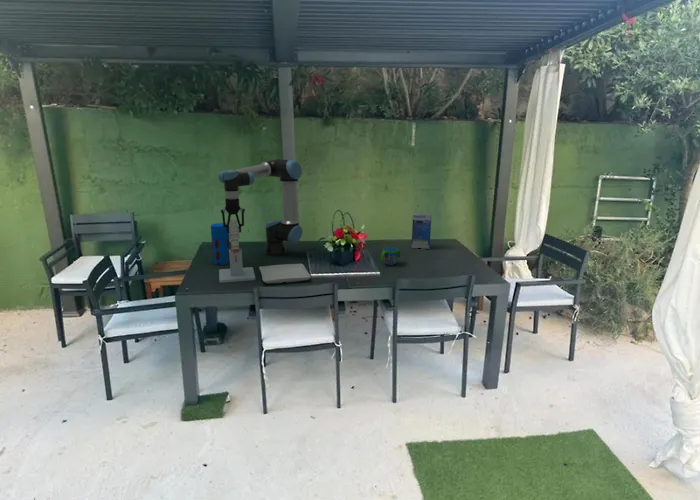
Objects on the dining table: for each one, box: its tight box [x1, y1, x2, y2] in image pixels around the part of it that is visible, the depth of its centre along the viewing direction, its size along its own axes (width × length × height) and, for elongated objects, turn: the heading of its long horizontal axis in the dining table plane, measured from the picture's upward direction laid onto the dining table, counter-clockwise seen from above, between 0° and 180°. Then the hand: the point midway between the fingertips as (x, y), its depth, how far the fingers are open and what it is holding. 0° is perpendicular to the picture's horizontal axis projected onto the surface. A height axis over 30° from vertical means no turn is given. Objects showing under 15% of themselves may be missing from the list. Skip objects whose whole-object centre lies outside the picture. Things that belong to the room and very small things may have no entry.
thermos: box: [210, 222, 231, 266], centre depth 282 cm, size 11×11×25 cm
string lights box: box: [411, 212, 432, 249], centre depth 322 cm, size 13×8×26 cm, turn 77°
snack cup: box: [380, 246, 401, 266], centre depth 286 cm, size 16×10×10 cm
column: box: [229, 219, 240, 252], centre depth 256 cm, size 4×4×26 cm
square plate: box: [258, 263, 311, 284], centre depth 261 cm, size 27×27×4 cm
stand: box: [218, 248, 256, 284], centre depth 259 cm, size 20×20×16 cm
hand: (234, 238), depth 255 cm, fingers closed on column, 4 cm apart
